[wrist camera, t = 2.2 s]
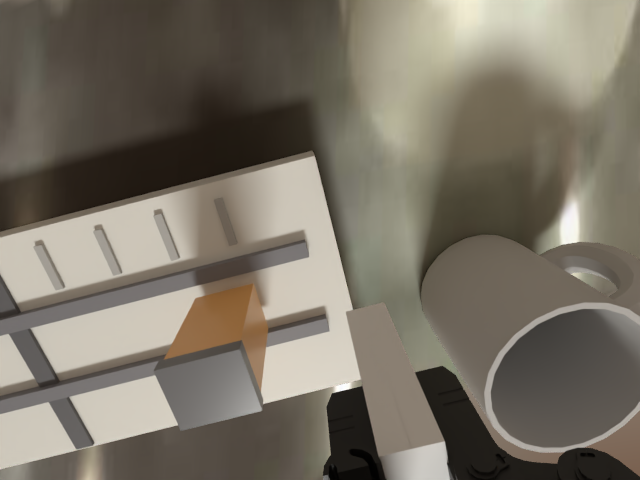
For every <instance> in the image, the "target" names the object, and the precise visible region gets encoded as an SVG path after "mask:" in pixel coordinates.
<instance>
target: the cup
mask: <svg viewBox="0 0 640 480" xmlns="http://www.w3.org/2000/svg"><path fill="white" fill-rule="evenodd" d="M577 272H584V273H590V274H594V275H597V276H600V277H603V278H606V279H607V280H609V281H611V282H613V283H614V284H615V285H616V287H617V288H618V290H617V291H616V292H615V293H613V294H612V295H610V296H609V297H608V296H606V295H604V294H603V293H601V292H599V291H598V290H596V289H594V288H593V287H591V286H589V285H588V284H586V283H584V282H583V281H581V280H579V279H578V278H576V277H574V276H573V275H571V274H572V273H577ZM421 303H422V309H423V312H424V314H425V316H426V318H427V320H428V322H429V324H430V326H431V328H432V330H433V332H434V333H435V335H436V336H437V338H438V340H439V341H440V343H441V344H442V346H443V348H444V349H445V351H446V352H447V354H448V356H449V357H450V359H451V360H452V362H453V364H454V365H455V367H456V368H457V370H458V372H459V373H460V375H461V376H462V378H463V379H464V381H465V383H466V384H467V386H468V387H469V389H470V391H471V392H472V394H473V395H474V397H475V398H476V400H477V402H478V403H479V405H480V407H481V408H482V410H483V411H484V413H485V415H486V416H487V418H488V419H489V421H490V422H491V424H492V426H493V427H494V428H495V429H496V430H497V431H498V432H499V433H500V434H501V435H502V436H503V437H504V438H505V439H506V440H507V441H509V442H511V443H513V444H515V445H517V446H519V447H521V448H523V449H527V450H532V451H537V452H541V453H542V452H566V451H567V450H571V449H574V448H583V447H586V446H588V445H590V444H593V443H595V442H597V441H600V440H602V439H605V438H606V437H608V436H609V435H611V434H612V433H614V432H615V431H616V430H618V429H620V428H621V427H622V426H624V425H625V424H626V423H627V422H628V421H629V420H630V419H631V418H632V417H633V416H634V415H635V414H636V413H637V412H638V411H639V410H640V260H639V259H638V258H636V257H635V256H634V255H632V254H630V253H628V252H626V251H623V250H621V249H619V248H616V247H613V246H609V245H605V244H600V243H589V242H577V243H571V244H565V245H561V246H558V247H556V248H553V249H550V250H548V251H546V252H544V253H542V254H541V255H538V254H536V253H534V252H533V251H531V250H529V249H528V248H526V247H524V246H523V245H521V244H519V243H518V242H515V241H513V240H511V239H508V238H505V237H501V236H498V235H478V236H473V237H469V238H465V239H463V240H461V241H459V242H457V243H455V244H453V245H451V246H450V247H448V248H447V249H446V250H445V251H443V252H442V253H441V254H440V255H439V256H438V257H437V258H436V259H435V261H434V262H433V263H432V265H431V266H430V267H429V268H428V271H427V273H426V275H425V278H424V280H423V283H422V290H421Z"/></svg>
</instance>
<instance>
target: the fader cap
mask: <svg viewBox="0 0 640 480" xmlns="http://www.w3.org/2000/svg"><path fill="white" fill-rule="evenodd" d="M267 335H268V325H267V322H266V319H265V316H264V313H263V310H262V307H261V304H260V301H259V298H258V295H257V292H256V289H255V286H254V283H253V284H249V285H245V286H241V287H237V288H233V289H229V290H225V291H221V292H217V293H213V294H209V295H205V296H202V297H198V298H195V300H194V302H193V304H192V306H191V308H190V310H189V312H188V314H187V316H186V318H185V319H184V321H183V323H182V325H181V327H180V329H179V331H178V333H177V335H176V337H175V339H174V341H173V343H172V345H171V347H170V349H169V350H168V352H167V354H166V356H165V358H164V360H161V361H158V363H157V365H156V367H155V369H154V371H153V372H154V374H155V376H156V378H157V380H158V382H159V385H160V387H161V389H162V391H163V393H164V395H165V397H166V400H167V402H168V404H169V406H170V408H171V410H172V413H173V415H174V417H175V419H176V421H177V423H178V426H179V428H180V430H181V431H182V430H186V429H190V428H194V427H198V426H202V425H206V424H210V423H214V422H218V421H222V420H226V419H230V418H234V417H238V416H243V415H247V414H251V413H255V412H259V411H262V408H263V397H262V394H261V387H262V378H263V370H264V361H265V352H266V343H267Z"/></svg>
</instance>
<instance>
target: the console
mask: <svg viewBox="0 0 640 480" xmlns="http://www.w3.org/2000/svg"><path fill="white" fill-rule="evenodd" d="M253 283H254V286H255V289H256V292H257V295H258V298H259V301H260V304H261V307H262V310H263V313H264V316H265V319H266V322H267V325H268V335H267V343H266V352H265V361H264V370H263V378H262V387H261V394H262V397H263V404H264V403H268V402H272V401H276V400H281V399H285V398H289V397H293V396H297V395H301V394H305V393H309V392H313V391H317V390H321V389H325V388H329V387H333V386H337V385H341V384H345V383H349V382H353V381H357V380H361V377H360V373H359V369H358V364H357V360H356V355H355V351H354V347H353V342H352V338H351V334H350V329H349V325H348V320H347V316H346V312H347V311H351V310H353V308H352V304H351V300H350V296H349V292H348V287H347V283H346V279H345V275H344V271H343V267H342V263H341V259H340V255H339V251H338V247H337V243H336V239H335V235H334V231H333V227H332V223H331V219H330V215H329V211H328V207H327V203H326V199H325V195H324V191H323V187H322V183H321V179H320V175H319V171H318V167H317V163H316V159H315V155H314V153H313V151H309V152H305V153H301V154H297V155H293V156H289V157H286V158H282V159H278V160H274V161H270V162H266V163H262V164H259V165H255V166H251V167H247V168H243V169H239V170H236V171H232V172H228V173H224V174H220V175H216V176H212V177H209V178H205V179H201V180H197V181H193V182H189V183H186V184H182V185H178V186H174V187H170V188H166V189H162V190H159V191H155V192H151V193H147V194H143V195H139V196H136V197H132V198H128V199H124V200H120V201H116V202H112V203H109V204H105V205H101V206H97V207H93V208H89V209H86V210H82V211H78V212H74V213H70V214H66V215H62V216H59V217H55V218H51V219H47V220H43V221H39V222H36V223H32V224H28V225H24V226H20V227H16V228H12V229H9V230H5V231H1V232H0V469H3V468H7V467H11V466H15V465H19V464H23V463H27V462H31V461H35V460H40V459H44V458H48V457H52V456H56V455H60V454H64V453H68V452H72V451H76V450H80V449H84V448H88V447H92V446H96V445H100V444H104V443H108V442H112V441H116V440H120V439H124V438H128V437H132V436H136V435H140V434H144V433H148V432H152V431H156V430H160V429H164V428H168V427H172V426H176V425H178V423H177V421H176V419H175V417H174V415H173V413H172V410H171V408H170V406H169V404H168V402H167V400H166V397H165V395H164V393H163V391H162V389H161V387H160V385H159V382H158V380H157V378H156V376H155V374H154V372H153V371H154V369H155V367H156V365H157V363H158V361H161V360H164V358H165V356H166V354H167V352H168V350H169V349H170V347H171V345H172V343H173V341H174V339H175V337H176V335H177V333H178V331H179V329H180V327H181V325H182V323H183V321H184V319H185V318H186V316H187V314H188V312H189V310H190V308H191V306H192V304H193V302H194V300H195V298H198V297H202V296H205V295H209V294H213V293H217V292H221V291H225V290H229V289H233V288H237V287H241V286H245V285H249V284H253Z"/></svg>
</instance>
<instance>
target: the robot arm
mask: <svg viewBox="0 0 640 480" xmlns="http://www.w3.org/2000/svg"><path fill="white" fill-rule="evenodd" d="M346 316H347V320H348V325H349V329H350V334H351V338H352V342H353V347H354V351H355V355H356V360H357V364H358V369H359V373H360V377H361V382H362V386H361V387H357V388H353V389H349V390H345V391H340V392H336V393H332V395H331V397H330V400H329V402H328V405H327V416H328V427H329V434H330V435H329V437H330V448H331V456H330V457H329V458H328V460H327V462H326V464H325V465H324V471H323V478H324V480H640V477H639V476H638V475H637V474H635V473H634V472H633V471H632V470H630V469H629V468H628V467H626V466H625V465H624V464H623V463H621V462H620V461H619V460H617V459H615V458H613V457H612V456H610V455H609V454H607V453H605V452H602V451H598V450H595V449H592V448H574V449H571V450H567V451H566V452H565V453H563V454H562V455H561V456H560V457H559V460H558V464H550V463H536V462H529V461H523V460H521V459H517V458H515V457H512V456H511V455H509V454H507V452H506V451H504V450H502V449H501V448H500V447H498V445H497V444H496V443H495V441H494V440H493V438H492V437H491V435H490V433H489V432H488V430H487V428H486V426H485V425H484V423H483V421H482V420H481V418H480V416H479V415H478V413H477V411H476V409H475V408H474V406H473V404H472V403H471V401H470V400H469V397H468V396H467V394H466V392H465V391H464V390H463V387H462V385H461V384H460V382H459V380H458V379H457V377H456V375H455V374H453V373H452V372H450V371H449V370H448V369H446V368H445V367H443V366H440V367H436V368H432V369H428V370H423V371H419V372H414V370H413V367H412V365H411V363H410V360H409V358H408V356H407V354H406V351H405V349H404V347H403V344H402V342H401V340H400V338H399V335H398V333H397V331H396V328H395V326H394V324H393V322H392V319H391V317H390V315H389V312H388V310H387V308H386V306H385V303H384V302H383V303H379V304H375V305H371V306H367V307H363V308H359V309H355V310H351V311H347V312H346Z"/></svg>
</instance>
